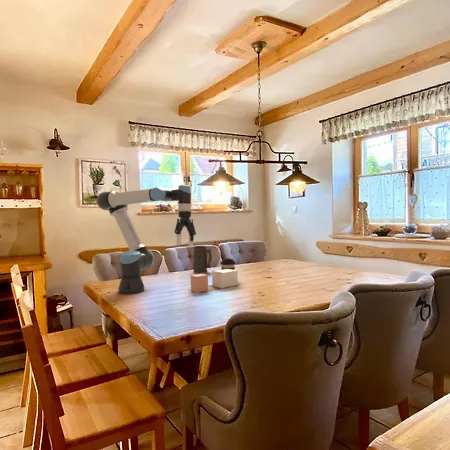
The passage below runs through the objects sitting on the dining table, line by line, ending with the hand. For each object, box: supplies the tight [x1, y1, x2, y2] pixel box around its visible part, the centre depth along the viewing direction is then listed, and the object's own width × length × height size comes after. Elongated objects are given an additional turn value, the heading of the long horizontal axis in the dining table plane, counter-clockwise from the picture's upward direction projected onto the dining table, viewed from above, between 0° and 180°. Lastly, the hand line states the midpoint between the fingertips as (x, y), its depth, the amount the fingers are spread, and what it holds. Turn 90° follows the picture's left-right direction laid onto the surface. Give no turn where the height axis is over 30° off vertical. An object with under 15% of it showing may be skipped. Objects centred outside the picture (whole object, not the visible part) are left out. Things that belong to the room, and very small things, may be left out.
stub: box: [190, 273, 209, 293], centre depth 208 cm, size 8×6×9 cm
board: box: [187, 284, 241, 294], centre depth 215 cm, size 30×14×1 cm, turn 131°
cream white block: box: [211, 269, 239, 288], centre depth 221 cm, size 13×9×9 cm
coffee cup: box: [220, 258, 236, 270], centre depth 236 cm, size 10×10×15 cm
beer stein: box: [193, 245, 213, 274], centre depth 276 cm, size 15×11×20 cm
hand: (184, 245), depth 217 cm, fingers open, 13 cm apart
